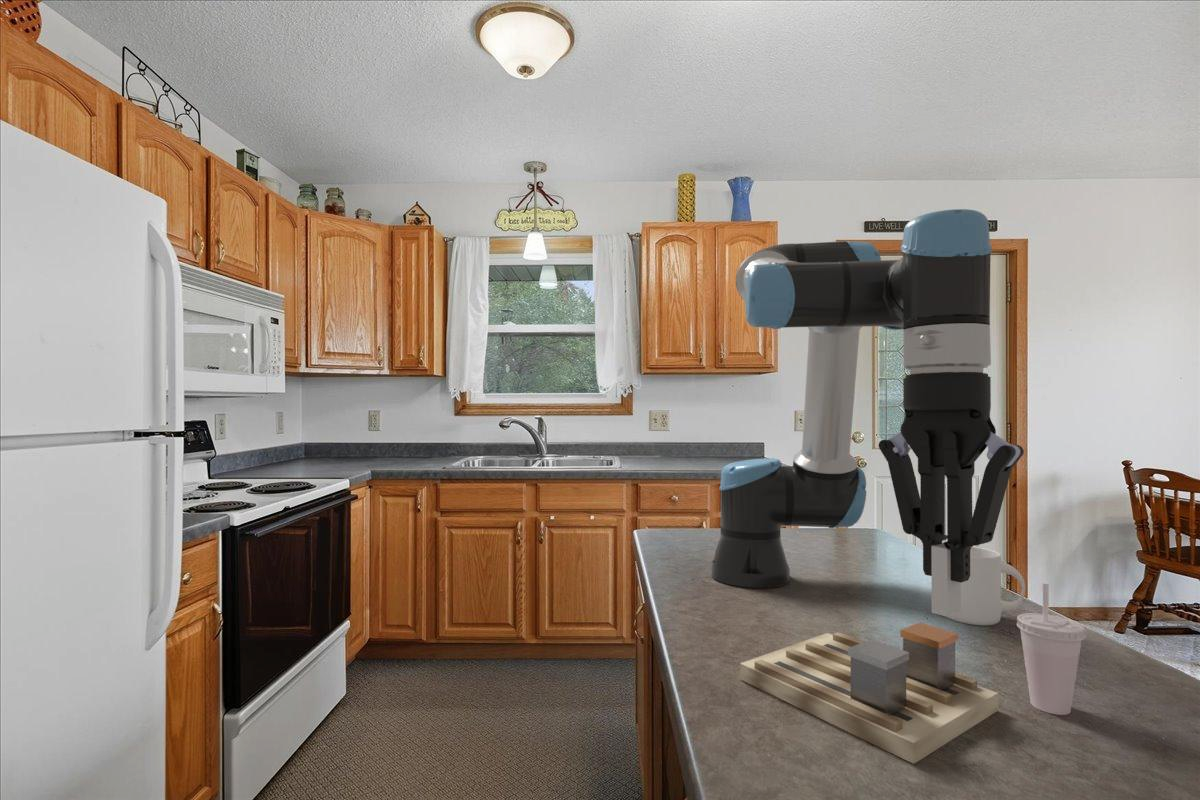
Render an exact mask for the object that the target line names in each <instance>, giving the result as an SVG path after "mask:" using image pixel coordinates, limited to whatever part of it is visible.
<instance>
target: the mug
mask: <svg viewBox="0 0 1200 800" xmlns="http://www.w3.org/2000/svg"><path fill="white" fill-rule="evenodd" d="M1002 574H1007V575H1010V576H1013V577H1014V578H1015V579H1016V580H1017V581H1018V582H1019V583H1020V586H1021V587H1020V588H1021V593H1020V596H1018V598H1017V599H1015V600H1014V601H1006V600H1004V599H1002ZM1025 592H1026V582H1025V580H1024V577H1023V576H1022V574H1021V573H1020V572H1019V571H1018V570H1017V569H1016V568H1015V567H1014V566H1012V565H1011V564H1009V563H1007V562H1005V561H1003V560H1002V554H1001V553H1000V552H998V551H995V550H993V549H989V548H983V547H978V546H972V547H971V549H970V577H969V579H968V581H965V582H962V583H961V612H958V613H956V614H953V615H951V616H948V617H946V618H947V619H950V620H952V621H955V622H958V623H962V624H966V625H972V626H973V625H974V626H993V625H997V624H998V623H999V622H1000V621H1001V618H1002V613H1007V612H1012V611H1015V610H1016V609H1017V608H1019V606H1021V604H1022V603H1023V601H1024V598H1025V594H1026V593H1025Z"/></svg>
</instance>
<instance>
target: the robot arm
mask: <svg viewBox="0 0 1200 800" xmlns="http://www.w3.org/2000/svg"><path fill="white" fill-rule="evenodd" d="M989 224H990V223H989V220H988V217H987V216H986V215H985V214H984V213H983V212H980V211H977V210H973V209H968V208H967V209H966V208H961V209H944V210H939V211H934V212H933V211H932V212H929V213H924V214H921V215H919V216H916V217H914V218H913V219H911V220H910V221H908V222H907V223H906V225H905V226H904V228H903V236H902V243H901V247H900V251H901V252H902V257H901V258H900V259H891V260H889V259H887V260H886V259H884V260H883V259H882V257H881V255H880V252H879V251H878V248H877V247H875V245H874V244H873V243H871V242H867V241H851V240H845V241H843V240H841V241H826V242H825V241H824V242H807V243H805V242H804V243H782V244H776V245H775V244H774V245H772V246H768V247H766V248H762V249H760V250H758V251H754V252H753V253H751V254H749V255H748V256H747V257H746V258H744V259H743V260H742V262H741V264H739V267H738V269H737V270H736V271H737V272H736V275H735V287H736V290H737V292H738V295H739V297H741V299H742V300H743V301H744V305H745V306H744V307H745V308H744V310H745V311H744V312H745V316H746V319H745V320H746V322H747V323H748V325H749V326H751V327H753V328H769V329H775V330H779V329H782V328H808V343H807V361H806V375H805V393H804V395H805V396H804V410H803V429H802V445H801V447H802V448H801V450H800V451H798V452H796V453H795V454H794V455H793V462H792V465H790V466H789V465H788V466H787V465H783V463H782V462H781V460H780V459H779V458H773V457H771V458H754V459H746V460H739V461H735V462H731V463H728V464H726V465H724V466H723V468H722V470H721V473H720V485H719V491H720V532H719V534H720V536H719V540H718V544H717V546H716V549H715V555H714V559H712V561H711V577H712V578H713V579H715V580H716V581H717V582H720V583H723V584H727V585H731V586H735V587H736V586H737V587H742V588H753V589H756V588H757V589H760V588H761V589H766V588H767V589H768V588H776V587H782V586H784V585H786V584H788V583H789V582H790V580H791V576H790V575H791V574H790V573H791V570H790V569H791V568H790V566H789V564H788V562H787V558H786V554H785V551H784V547H783V544H782V540H781V539H782V538H781V529H782V528H781V527H782V526H786V527H787V526H788V527H809V528H810V527H812V528H813V527H814V528H815V527H816V528H829V529H835V528H849V527H853V526H854V525H856V524H857V523H858V522H859V521H860V519H861V517H862V515H863V513H864V510H865V509H864V508H865V505H866V500H867V490H866V488H867V479H866V478H867V477H866V475H865V472H864V470H863V469H862V468H859V467H858V461H857V460H856V458H855V457H854V456H853V455H851V453H850V452H851V439H852V428H853V416H854V415H853V414H854V403H855V394H856V393H855V392H856V391H855V390H856V379H857V369H858V368H857V367H858V355H859V342H860V341H859V340H860V330H861V328H863V327H881V328H883V329H887V330H891V331H893V330H894V331H898V330H903V368H904V369H905V370H907V371H908V370H909V374H906V375H905V377H903V378H902V382H903V386H902V387H903V389H902V392H903V393H902V394H903V396H902V397H903V400H902V402H903V404H902V406H903V410H904V415H905V416H904V420H903V422H901V425H900V432H898V433H897V434H895V435H894V436H892V437H891V438H889V439H882V440H880V441H879V442H878V449H879V450H880V452H881V454H882V456H883V457H884V459H885V460H886V462H887V465H888V469H889V474H890V478H891V482H892V487H893V491H894V496H895V499H896V504H897V508H898V513H899V517H900V518H899V519H900V522H901V526H902V530H903V532H904V533H905V534H907V535H913V536H914V537H916V538H917V539H919V540H920V541H921V543H922V559H923V560H922V570H923V573H924V575H925V576H929V577H931V613H932V614H935V615H940V616H944V617H945V618H947V617H948V616H951V615H953V614H956V613H958V612H961V583H962V582H965V581H968V579H969V577H970V549H971V547H972V546H973V547H977V546H980V545H984V544H987V543H990V542H992V540H993V538H994V535H995V533H996V532H995V531H996V529H997V528H996V527H997V524H998V519H999V517H1000V512H1001V509H1002V505H1003V502H1004V499H1005V495H1006V490H1007V487H1008V484H1009V479H1010V476H1011V473H1012V472H1011V471H1012V470H1013V468H1014V467H1015V465H1016V464H1017V463H1018V462H1019V461H1020V459H1021V458H1022V456H1023V455H1024V454H1025V453H1024V452H1025V451H1024V447H1022V446H1021V445H1019V444H1011V443H1009V442H1008V441H1006V440H1005V439H1004V438H1001V436H998V435H997V434H996V433H997V432H996V431H997V429H996V427H995V425H994V423H993V422H992V420H991V408H992V407H991V406H992V401H991V400H992V399H991V395H992V394H991V393H992V390H991V389H992V388H991V387H992V386H991V381H992V380H991V376H989V374H988V373H986V372H984V369H985V368H986V369H987V368H988V367H989V366H991V365H992V357H991V356H992V354H991V254H992V253H993V248H992V246H991V240H990V239H991V238H990V228H989V226H990V225H989ZM987 448H988V449H987ZM986 449H987V453H986V458H987V460H988V461H987V464H986V466H985V468H984V473H983V475H982V479H981V482H980V483H981V484H980V488H979V491H978V495H977V497H976V503H975V506H974V510H973V477H974V475H975V462H976V461H977V460H978V459H979V457H981V455H982V454H983V452H984V451H985V450H986ZM911 450H912V453H913V454H914V455H915V456H916V458H917V472H918V475H919V477H920V486H919V487H920V490H919V488H918V483H917V480H916V476H915V475H916V474H915V470H914V467H913V462H912V460H911V457H910V455H909V453H910V451H911ZM945 483H946V484H945ZM919 491H920V492H919ZM945 505H946V506H945ZM946 507H947V508H946ZM946 509H947V510H946ZM946 514H947V515H946ZM945 515H946V516H947V517H946V516H945ZM945 518H946V519H947V521H946V519H945ZM946 523H947V524H946ZM946 525H947V528H946ZM946 529H947V531H946ZM946 532H947V533H946ZM946 540H947V541H946Z"/></svg>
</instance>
